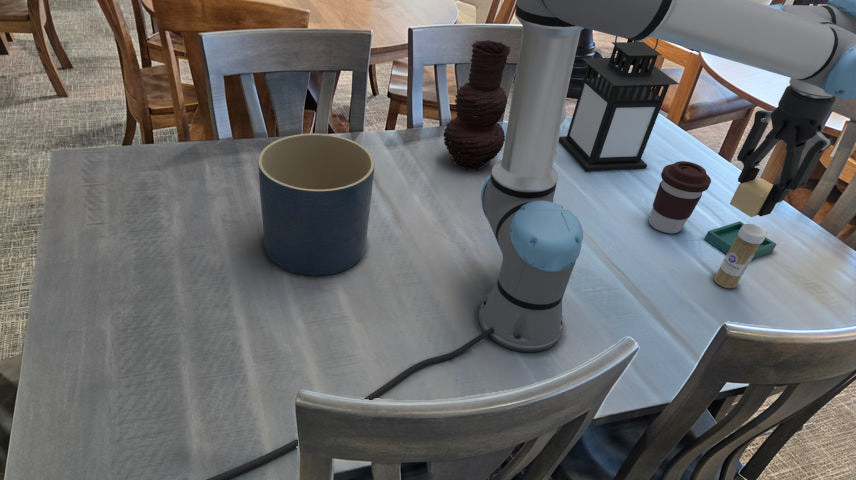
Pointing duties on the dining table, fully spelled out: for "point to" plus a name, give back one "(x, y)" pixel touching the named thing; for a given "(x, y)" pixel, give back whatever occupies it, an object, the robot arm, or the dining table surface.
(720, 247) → the green tray
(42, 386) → the dining table surface
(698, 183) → the coffee cup
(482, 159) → the vase
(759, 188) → the tan block
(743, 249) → the sprinkles bottle
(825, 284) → the dining table surface
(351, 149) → the planter
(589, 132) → the lantern
